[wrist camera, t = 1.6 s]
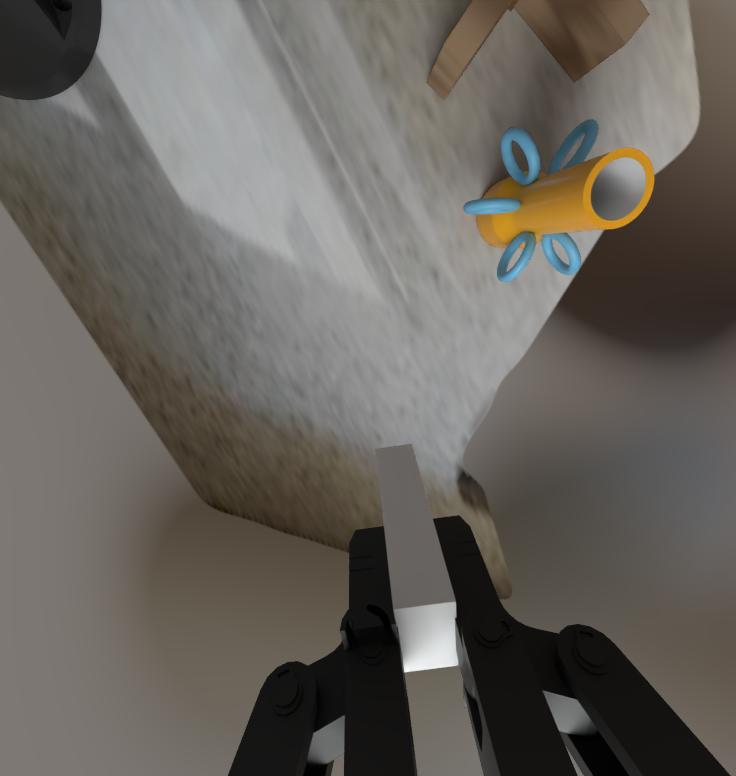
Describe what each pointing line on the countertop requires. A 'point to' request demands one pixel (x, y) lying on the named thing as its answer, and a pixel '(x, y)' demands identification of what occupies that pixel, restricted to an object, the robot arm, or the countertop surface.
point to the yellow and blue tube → (560, 198)
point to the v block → (543, 33)
